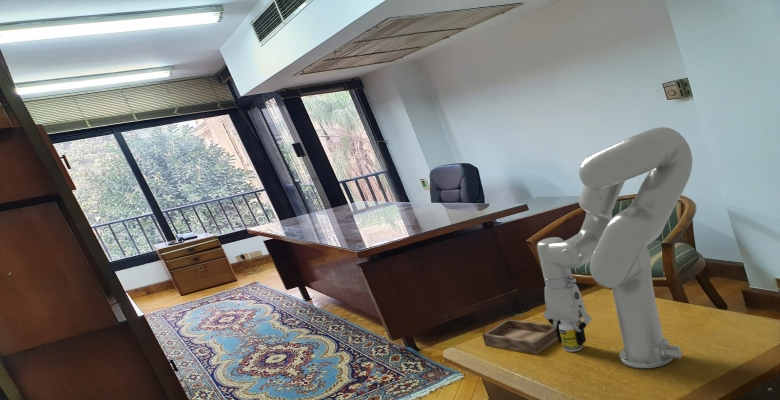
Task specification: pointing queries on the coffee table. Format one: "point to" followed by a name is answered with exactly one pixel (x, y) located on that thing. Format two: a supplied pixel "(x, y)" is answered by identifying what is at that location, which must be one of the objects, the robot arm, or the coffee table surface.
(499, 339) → the tray
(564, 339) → the supplement bottle
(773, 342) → the coffee table surface
